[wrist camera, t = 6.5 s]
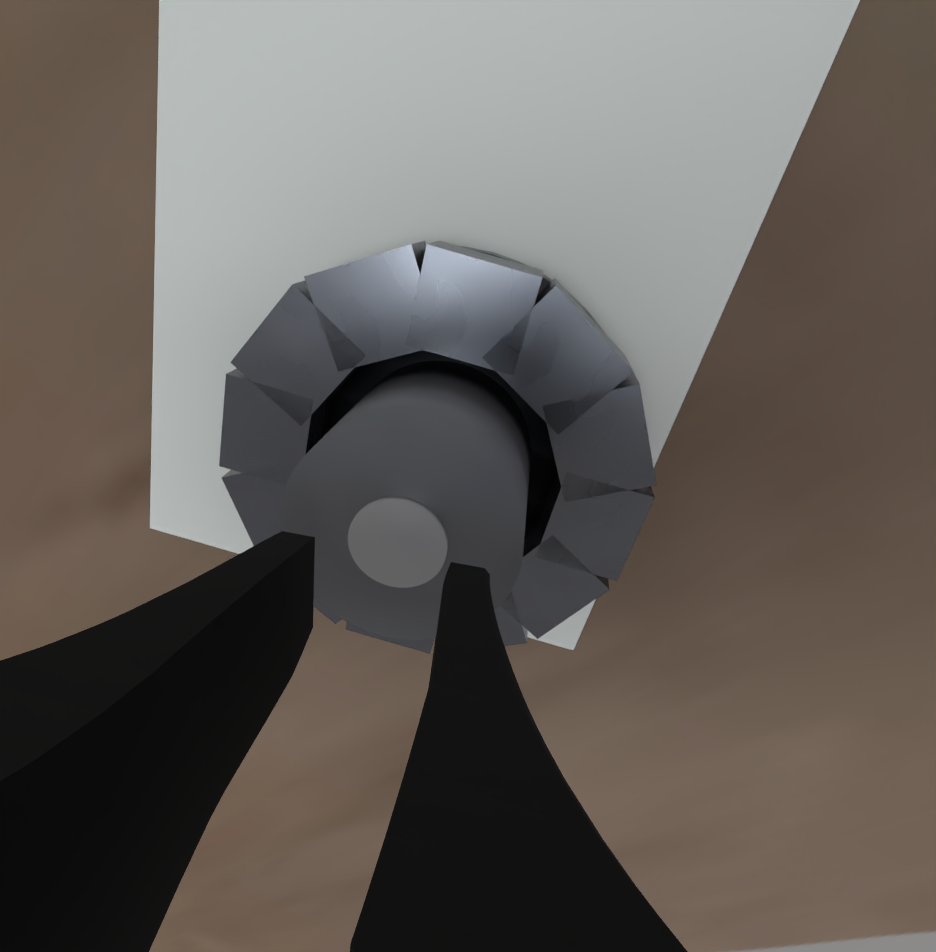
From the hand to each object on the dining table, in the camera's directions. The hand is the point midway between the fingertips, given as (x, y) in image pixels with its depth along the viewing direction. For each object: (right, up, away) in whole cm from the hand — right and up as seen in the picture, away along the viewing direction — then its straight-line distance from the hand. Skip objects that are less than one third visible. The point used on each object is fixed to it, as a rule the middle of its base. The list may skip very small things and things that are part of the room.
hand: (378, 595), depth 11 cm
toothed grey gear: (+1, +3, +7) cm, 8 cm away
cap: (+1, +3, +6) cm, 7 cm away
